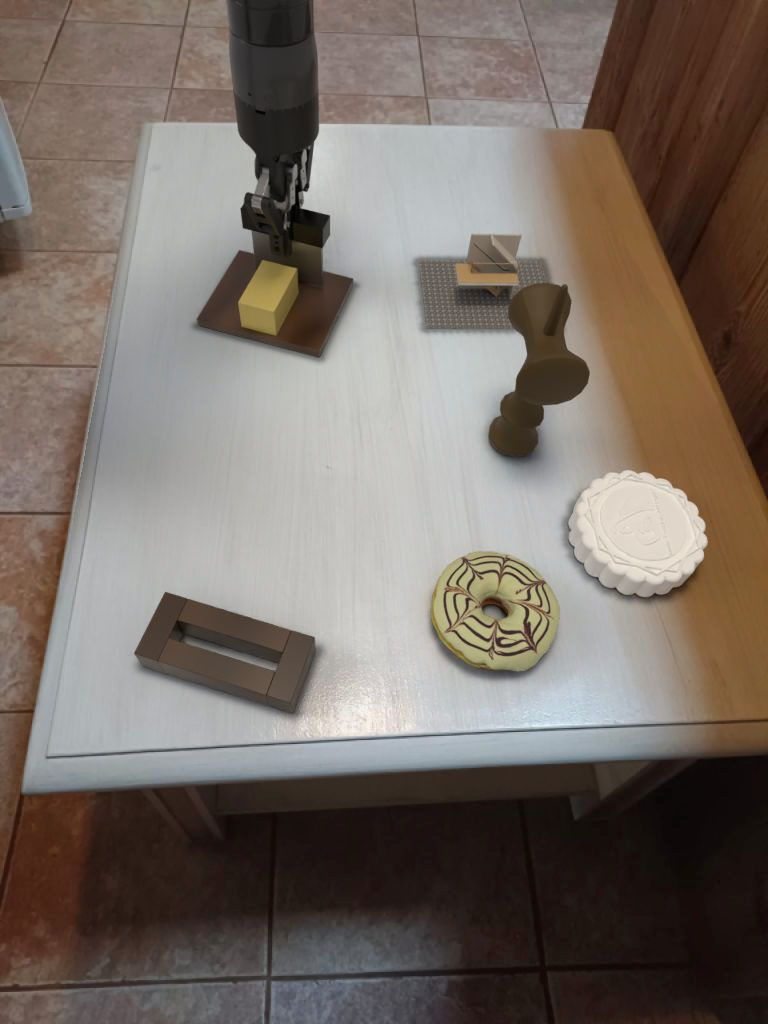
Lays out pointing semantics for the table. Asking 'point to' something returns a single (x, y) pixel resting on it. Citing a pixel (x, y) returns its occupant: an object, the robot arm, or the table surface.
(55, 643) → the table surface
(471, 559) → the decorated donut
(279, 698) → the stand
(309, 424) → the table surface
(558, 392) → the kendama
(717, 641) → the table surface
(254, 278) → the butter block
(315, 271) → the bench knife
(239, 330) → the butter board
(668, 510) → the mooncake
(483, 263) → the architectural model
